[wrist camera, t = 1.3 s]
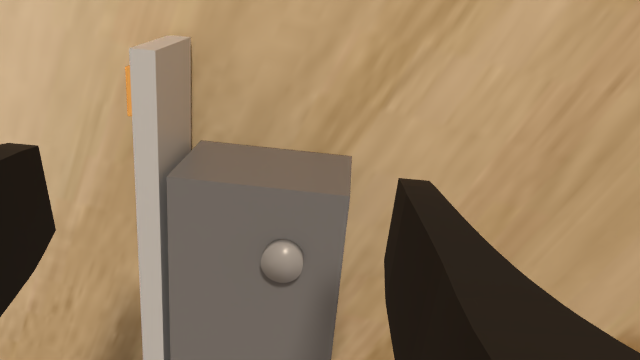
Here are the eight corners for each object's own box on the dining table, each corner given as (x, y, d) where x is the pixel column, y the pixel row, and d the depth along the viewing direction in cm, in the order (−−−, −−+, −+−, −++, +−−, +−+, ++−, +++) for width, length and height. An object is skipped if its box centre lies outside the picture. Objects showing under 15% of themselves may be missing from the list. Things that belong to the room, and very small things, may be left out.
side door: (191, 356, 25) (165, 416, 21) (166, 353, 25) (135, 413, 21) (190, 37, 19) (155, 50, 16) (158, 33, 19) (116, 46, 16)
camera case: (326, 374, 25) (320, 456, 21) (199, 359, 25) (167, 437, 21) (351, 156, 21) (349, 202, 17) (200, 140, 21) (161, 182, 17)
